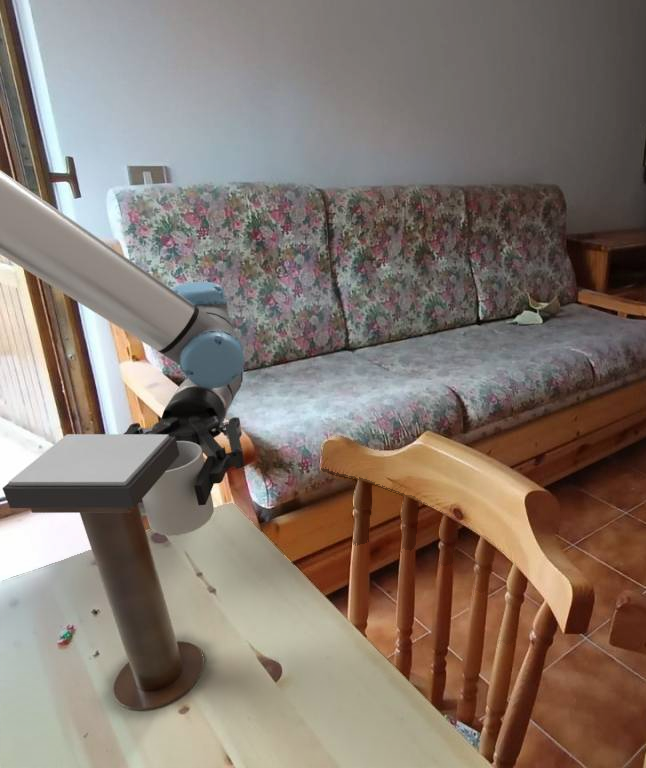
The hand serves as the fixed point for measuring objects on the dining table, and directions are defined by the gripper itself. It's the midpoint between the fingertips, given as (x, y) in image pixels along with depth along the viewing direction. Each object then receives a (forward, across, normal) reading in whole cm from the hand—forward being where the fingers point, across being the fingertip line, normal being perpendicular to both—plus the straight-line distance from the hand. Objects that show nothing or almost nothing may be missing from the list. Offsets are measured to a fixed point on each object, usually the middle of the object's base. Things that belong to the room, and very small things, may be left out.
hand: (148, 499), depth 71 cm
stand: (+12, -2, -14) cm, 19 cm away
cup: (-4, 0, -6) cm, 8 cm away
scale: (+13, -2, +11) cm, 17 cm away
